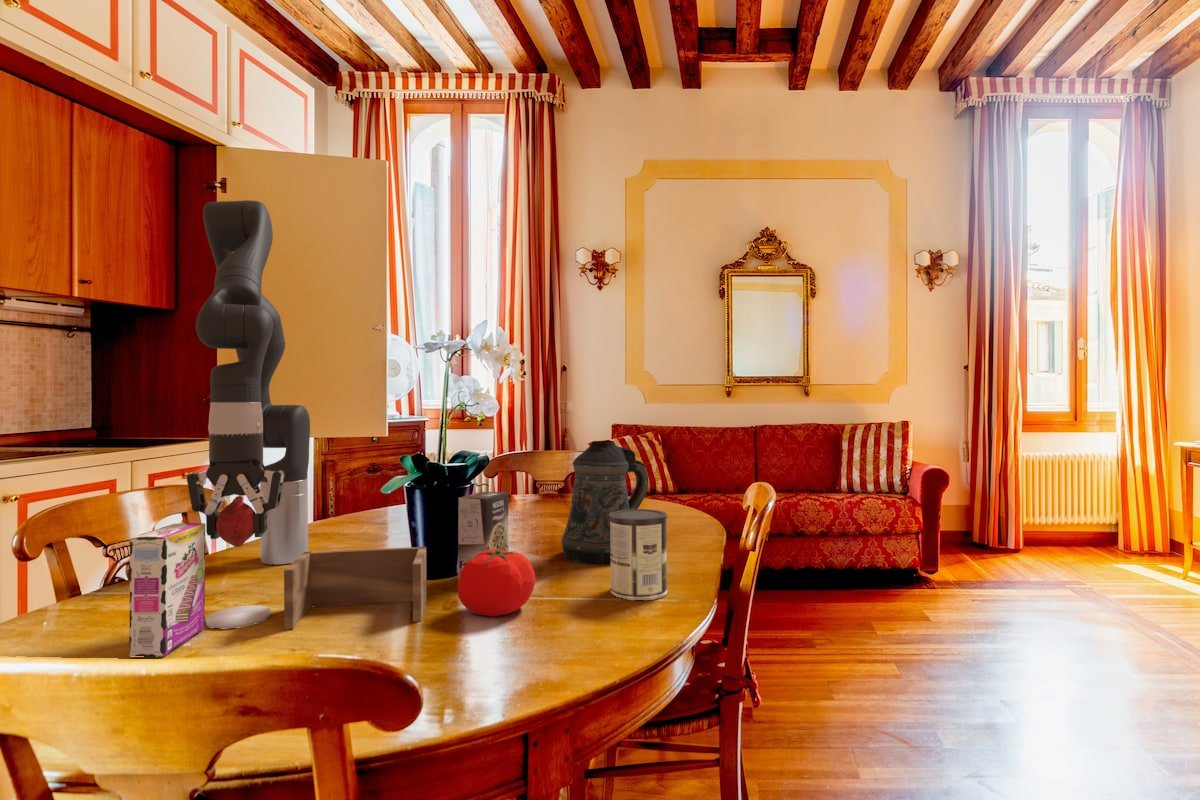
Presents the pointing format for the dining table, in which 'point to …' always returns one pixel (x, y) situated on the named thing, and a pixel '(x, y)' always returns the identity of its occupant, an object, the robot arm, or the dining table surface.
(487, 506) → the coffee box
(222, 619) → the coaster
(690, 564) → the dining table surface
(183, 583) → the candy bar box
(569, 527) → the beer stein
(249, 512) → the onion
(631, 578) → the coffee can
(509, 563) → the tomato
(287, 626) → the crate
